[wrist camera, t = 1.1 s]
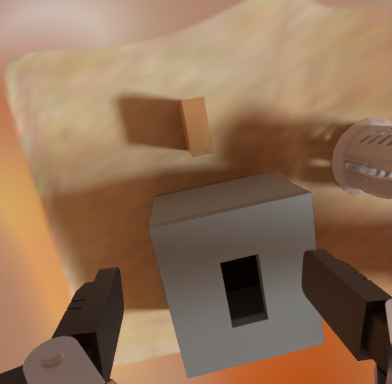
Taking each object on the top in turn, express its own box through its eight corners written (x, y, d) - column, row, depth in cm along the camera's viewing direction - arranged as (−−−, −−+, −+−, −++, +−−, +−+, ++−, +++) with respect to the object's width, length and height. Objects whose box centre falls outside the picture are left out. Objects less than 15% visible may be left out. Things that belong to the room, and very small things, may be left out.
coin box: (268, 172, 32) (311, 192, 22) (282, 285, 36) (324, 343, 27) (154, 196, 31) (148, 229, 22) (182, 309, 35) (187, 378, 26)
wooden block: (196, 101, 29) (203, 96, 23) (204, 146, 30) (213, 152, 25) (178, 105, 29) (181, 100, 23) (187, 150, 30) (192, 156, 25)
